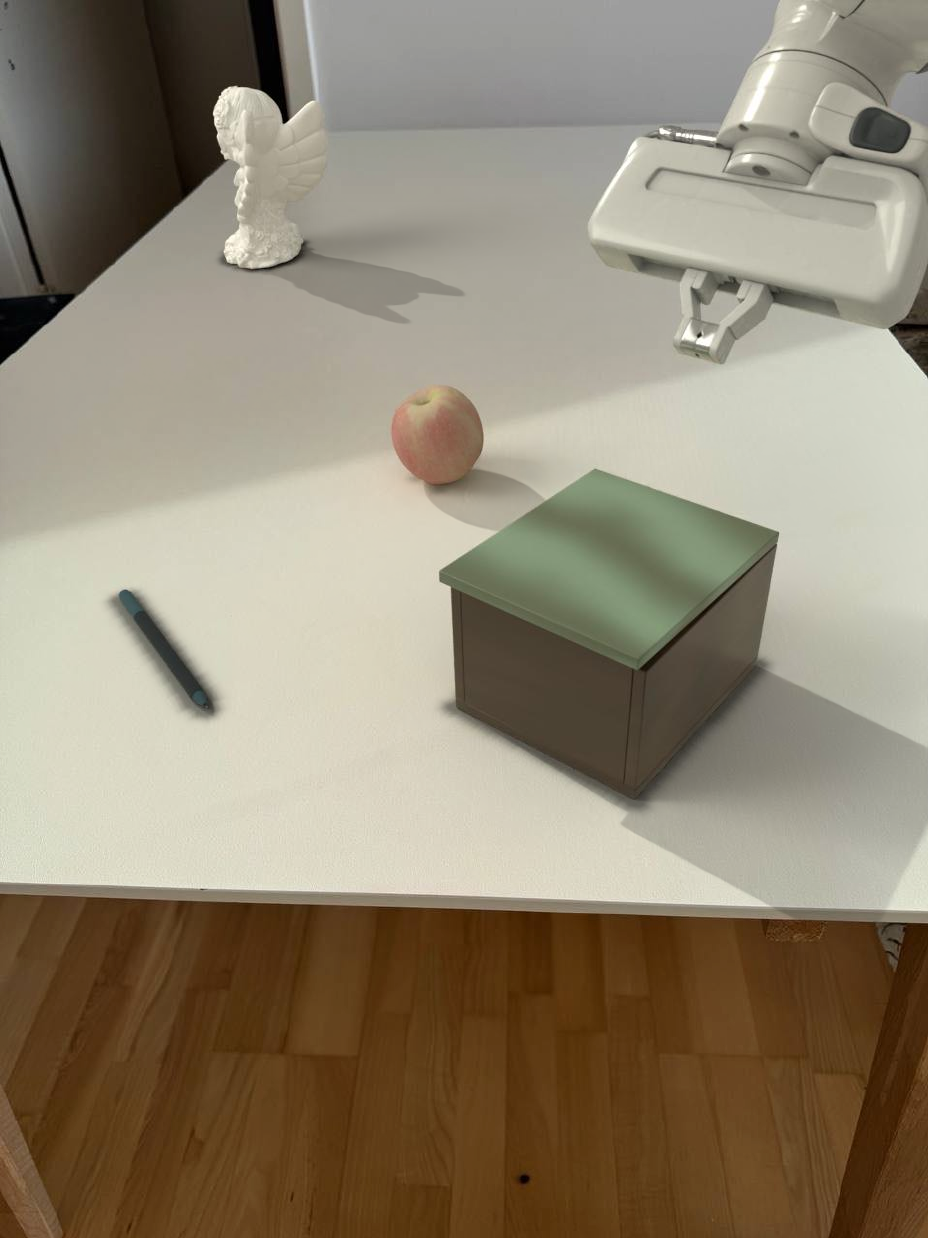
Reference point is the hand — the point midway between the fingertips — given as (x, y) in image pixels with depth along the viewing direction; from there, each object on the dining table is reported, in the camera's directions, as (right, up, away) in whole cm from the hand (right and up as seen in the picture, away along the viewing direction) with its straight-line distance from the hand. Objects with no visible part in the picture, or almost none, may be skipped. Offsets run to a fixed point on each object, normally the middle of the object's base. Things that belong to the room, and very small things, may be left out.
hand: (697, 355), depth 65 cm
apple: (-16, -3, +31) cm, 35 cm away
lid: (-5, -12, +1) cm, 13 cm away
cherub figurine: (-39, +32, +78) cm, 93 cm away
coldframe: (-4, -20, +8) cm, 22 cm away
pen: (-35, -18, +12) cm, 41 cm away
